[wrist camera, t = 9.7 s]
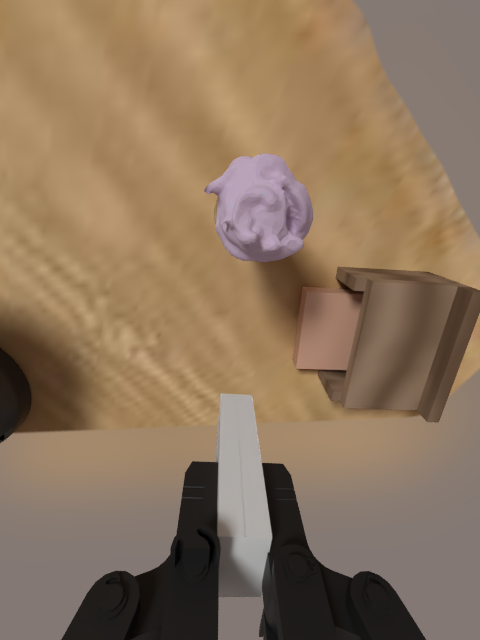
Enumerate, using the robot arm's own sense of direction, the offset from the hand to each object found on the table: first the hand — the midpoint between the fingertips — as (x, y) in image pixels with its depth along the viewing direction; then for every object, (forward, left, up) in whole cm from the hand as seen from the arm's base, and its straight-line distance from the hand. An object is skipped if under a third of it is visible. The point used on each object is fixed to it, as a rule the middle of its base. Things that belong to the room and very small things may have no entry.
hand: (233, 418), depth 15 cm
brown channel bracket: (+16, -3, -20) cm, 26 cm away
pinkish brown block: (+14, -3, -20) cm, 25 cm away
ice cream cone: (+1, +9, -20) cm, 22 cm away
